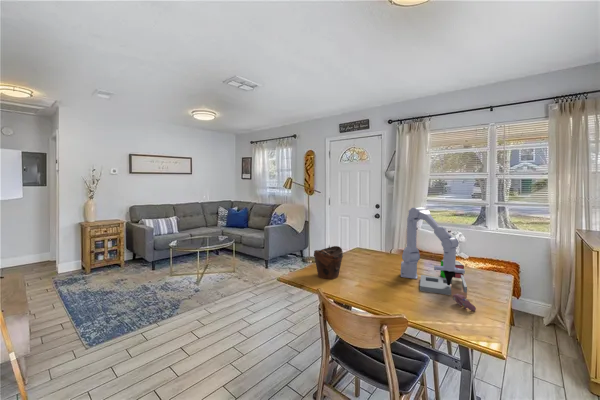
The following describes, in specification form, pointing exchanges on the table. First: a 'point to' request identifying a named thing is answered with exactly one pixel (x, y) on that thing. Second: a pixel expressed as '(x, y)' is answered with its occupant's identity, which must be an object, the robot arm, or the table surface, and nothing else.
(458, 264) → the puzzle cube
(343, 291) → the table surface
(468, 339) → the table surface
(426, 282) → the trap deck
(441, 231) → the robot arm
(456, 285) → the maple block
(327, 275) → the dark brown bucket
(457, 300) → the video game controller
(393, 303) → the table surface
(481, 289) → the table surface
